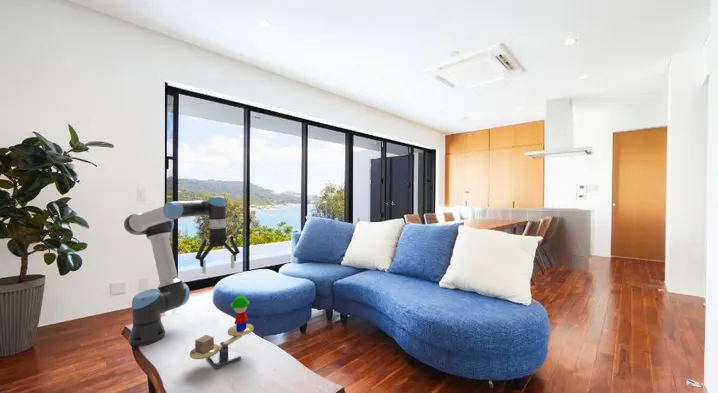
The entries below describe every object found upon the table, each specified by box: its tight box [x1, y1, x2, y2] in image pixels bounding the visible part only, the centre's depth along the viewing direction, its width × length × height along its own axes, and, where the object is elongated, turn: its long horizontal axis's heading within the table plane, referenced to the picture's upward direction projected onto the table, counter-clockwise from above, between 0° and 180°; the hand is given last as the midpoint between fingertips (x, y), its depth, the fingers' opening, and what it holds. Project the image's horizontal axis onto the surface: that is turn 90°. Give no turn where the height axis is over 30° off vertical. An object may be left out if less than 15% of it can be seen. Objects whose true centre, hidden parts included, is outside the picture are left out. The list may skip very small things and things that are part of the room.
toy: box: [230, 295, 250, 331], centre depth 140 cm, size 8×8×15 cm
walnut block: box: [194, 334, 215, 354], centre depth 130 cm, size 5×5×5 cm
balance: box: [189, 323, 255, 370], centre depth 135 cm, size 12×26×11 cm, turn 133°
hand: (218, 270), depth 152 cm, fingers open, 13 cm apart
